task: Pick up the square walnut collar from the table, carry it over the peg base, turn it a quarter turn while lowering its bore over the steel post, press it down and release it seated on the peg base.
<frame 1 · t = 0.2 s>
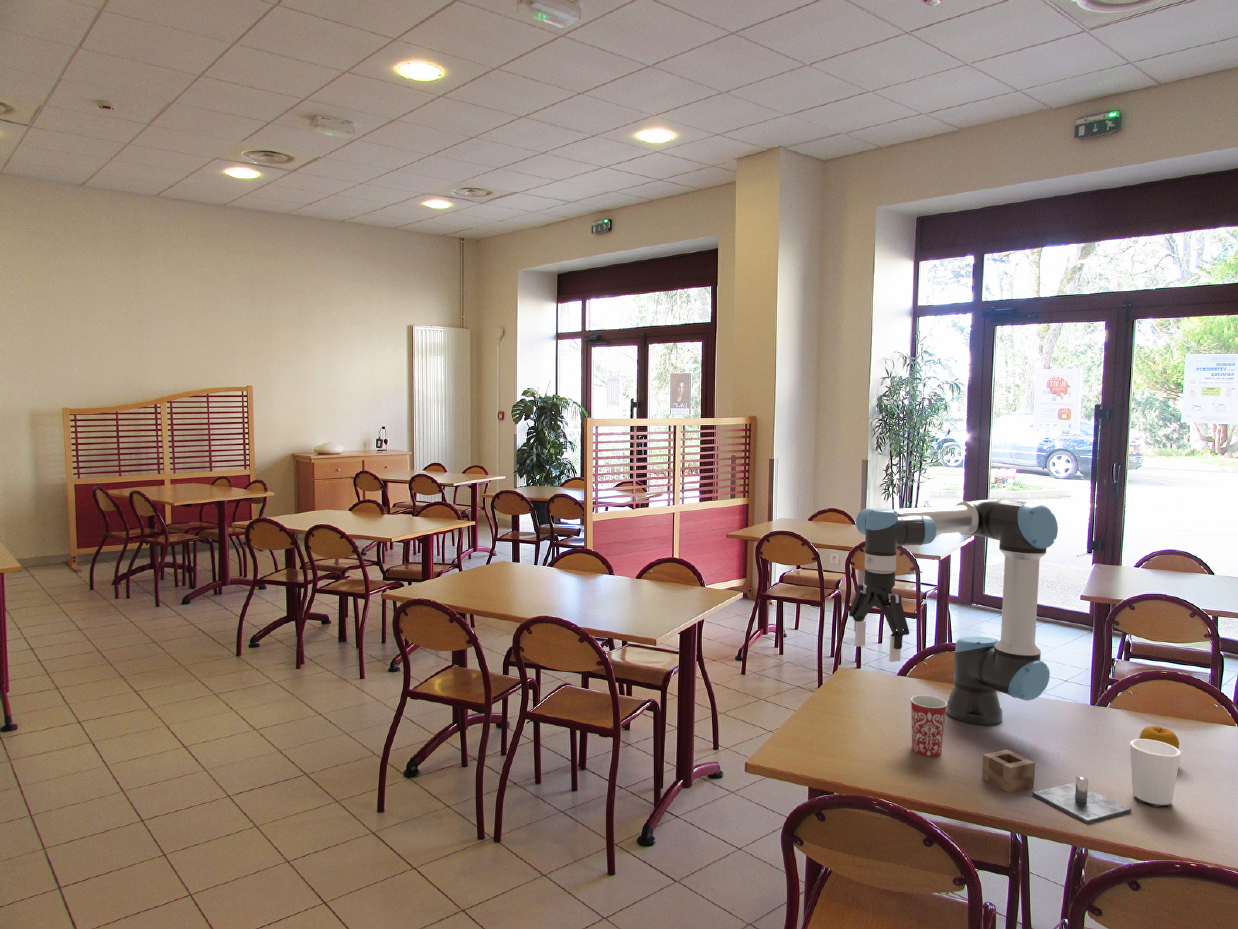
hand: (876, 653, 206), 28 cm above the table, fingers open, 13 cm apart
mug: (925, 749, 216), on the table
peg base: (1080, 803, 186), on the table
collar: (1007, 782, 196), on the table
cup: (1151, 801, 188), on the table
apple: (1157, 761, 210), on the table
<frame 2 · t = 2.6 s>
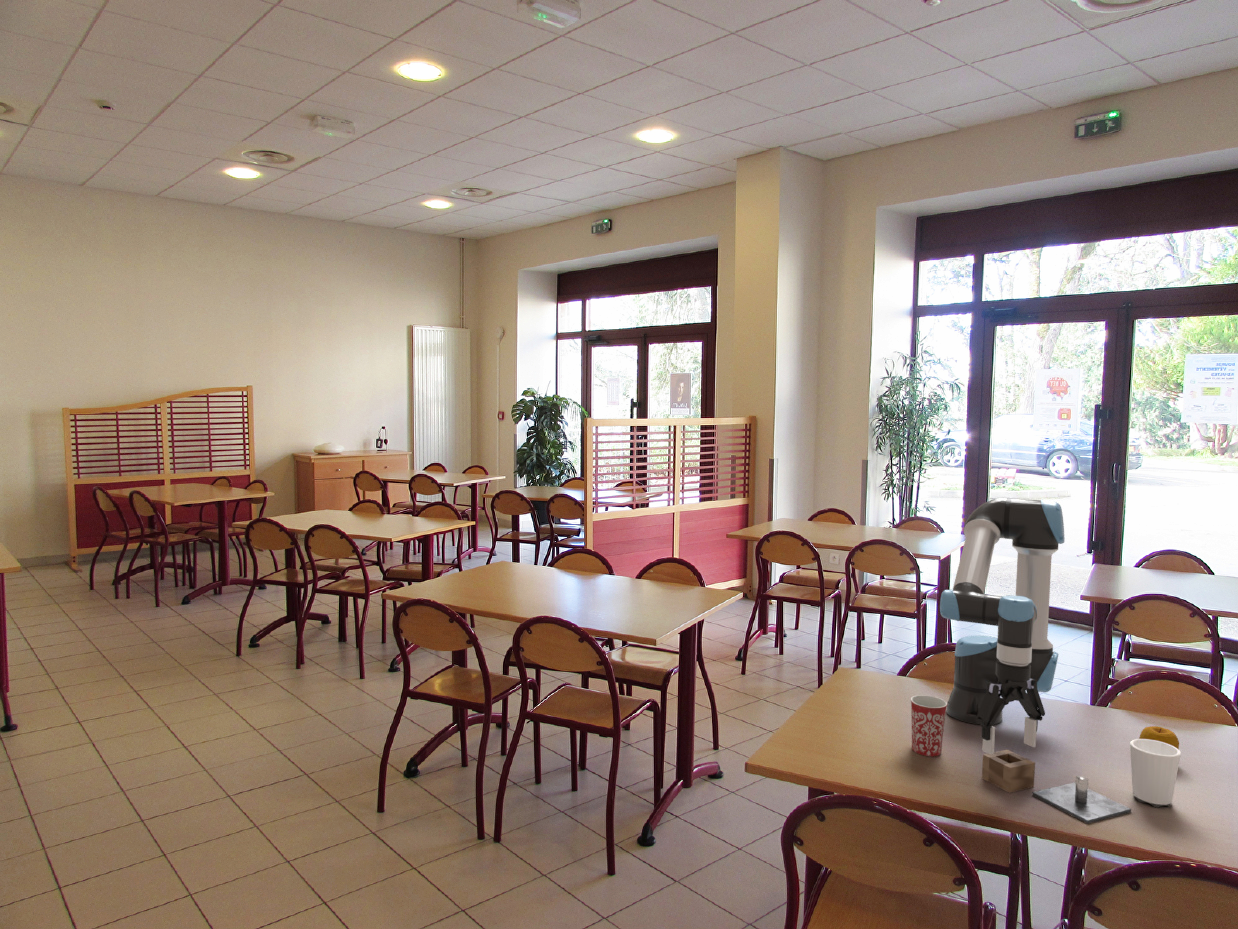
hand: (1009, 749, 195), 8 cm above the table, fingers open, 13 cm apart
nothing on the table moved.
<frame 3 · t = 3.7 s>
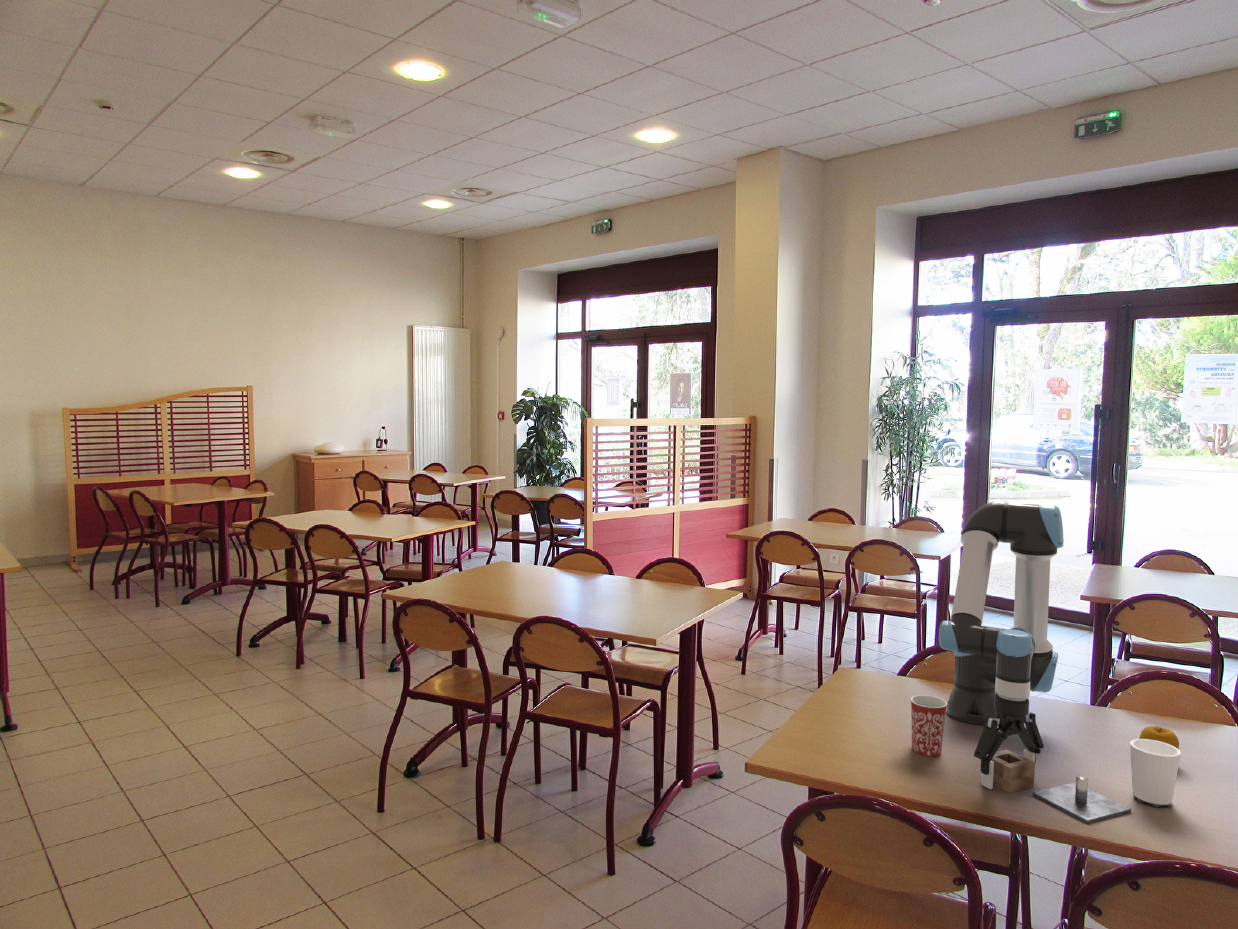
hand: (1007, 782, 196), 0 cm above the table, fingers open, 13 cm apart
nothing on the table moved.
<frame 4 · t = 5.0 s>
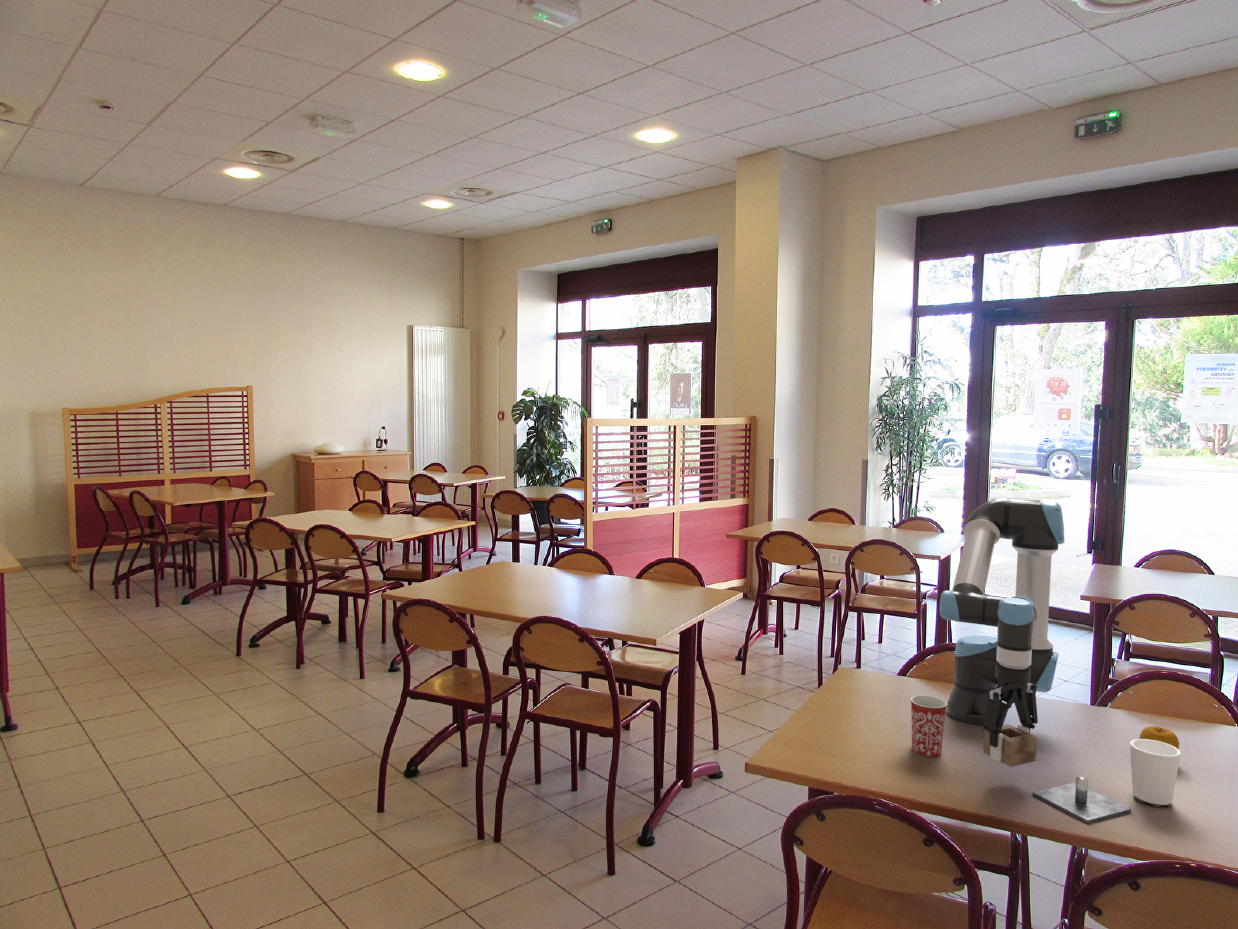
hand: (1009, 755, 196), 6 cm above the table, fingers closed on collar, 8 cm apart
collar: (1009, 757, 196), point 6 cm above the table, touching gripper
everything else where it was.
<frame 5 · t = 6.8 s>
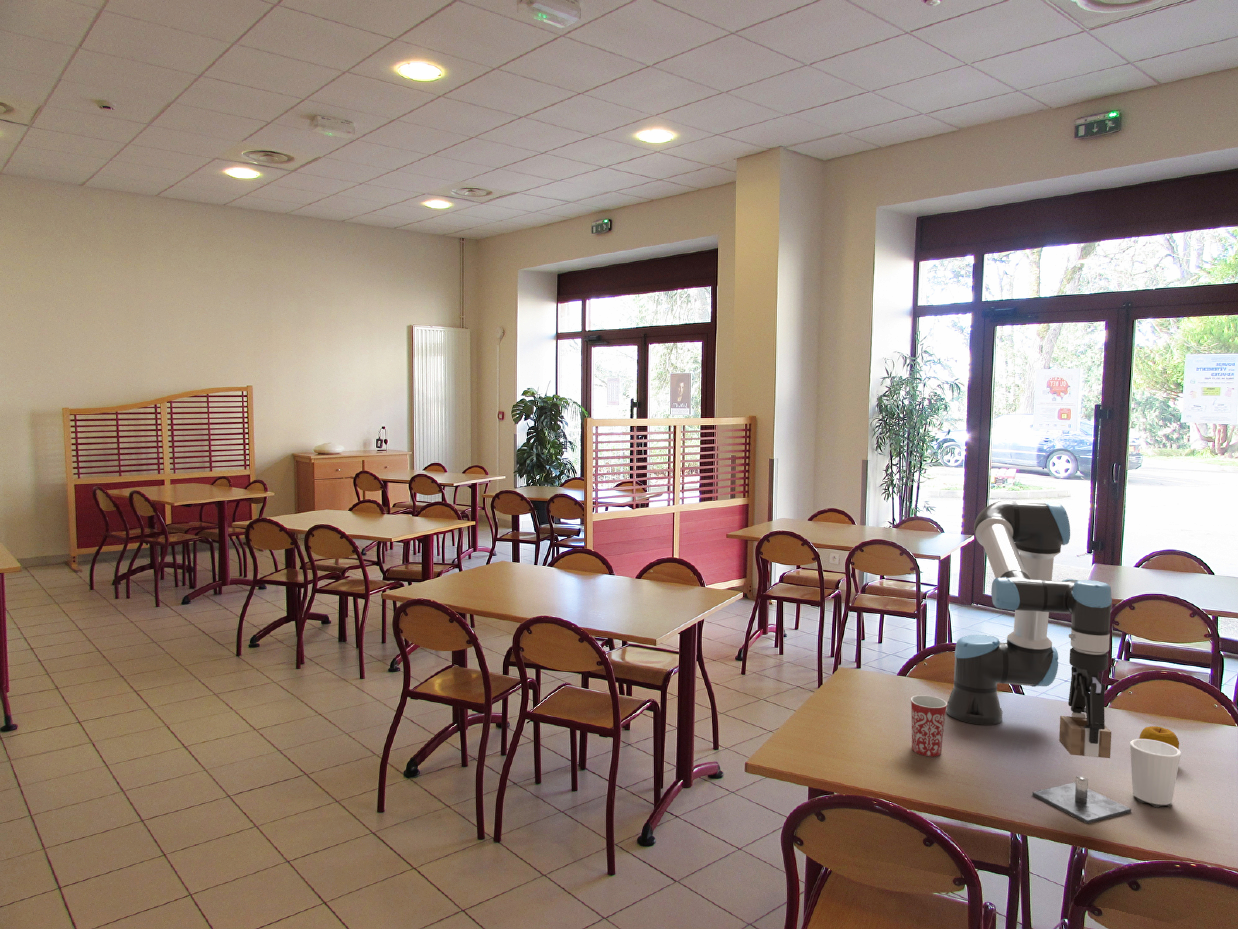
hand: (1084, 748, 185), 13 cm above the table, fingers closed on collar, 8 cm apart
collar: (1083, 749, 185), point 13 cm above the table, touching gripper
everything else where it was.
when the fingers open (2 cm above the table, at t = 8.7 s): collar stays where it is, resting on peg base.
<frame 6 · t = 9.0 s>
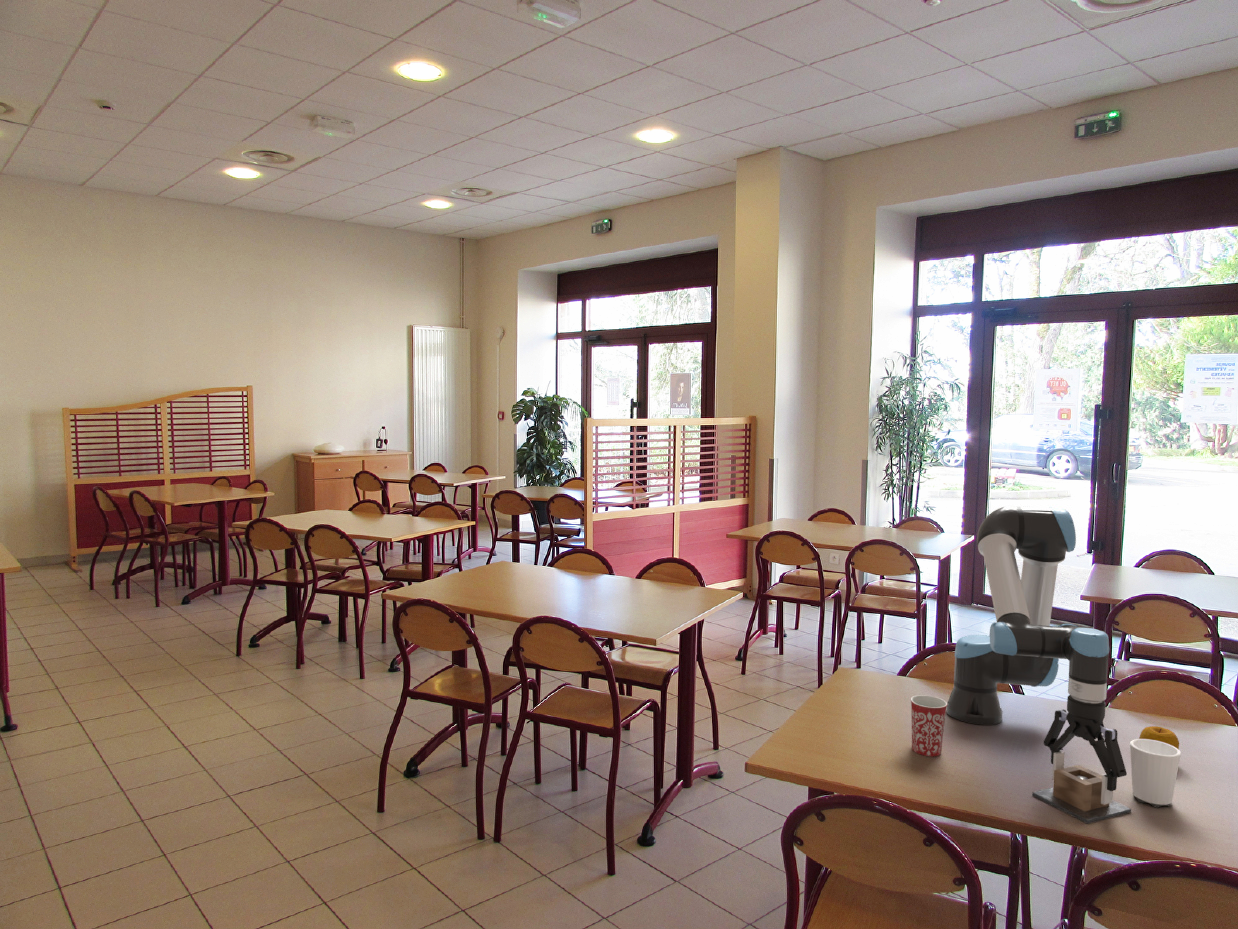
hand: (1081, 791, 186), 3 cm above the table, fingers open, 11 cm apart
collar: (1080, 800, 186), point 1 cm above the table, touching peg base
everything else where it was.
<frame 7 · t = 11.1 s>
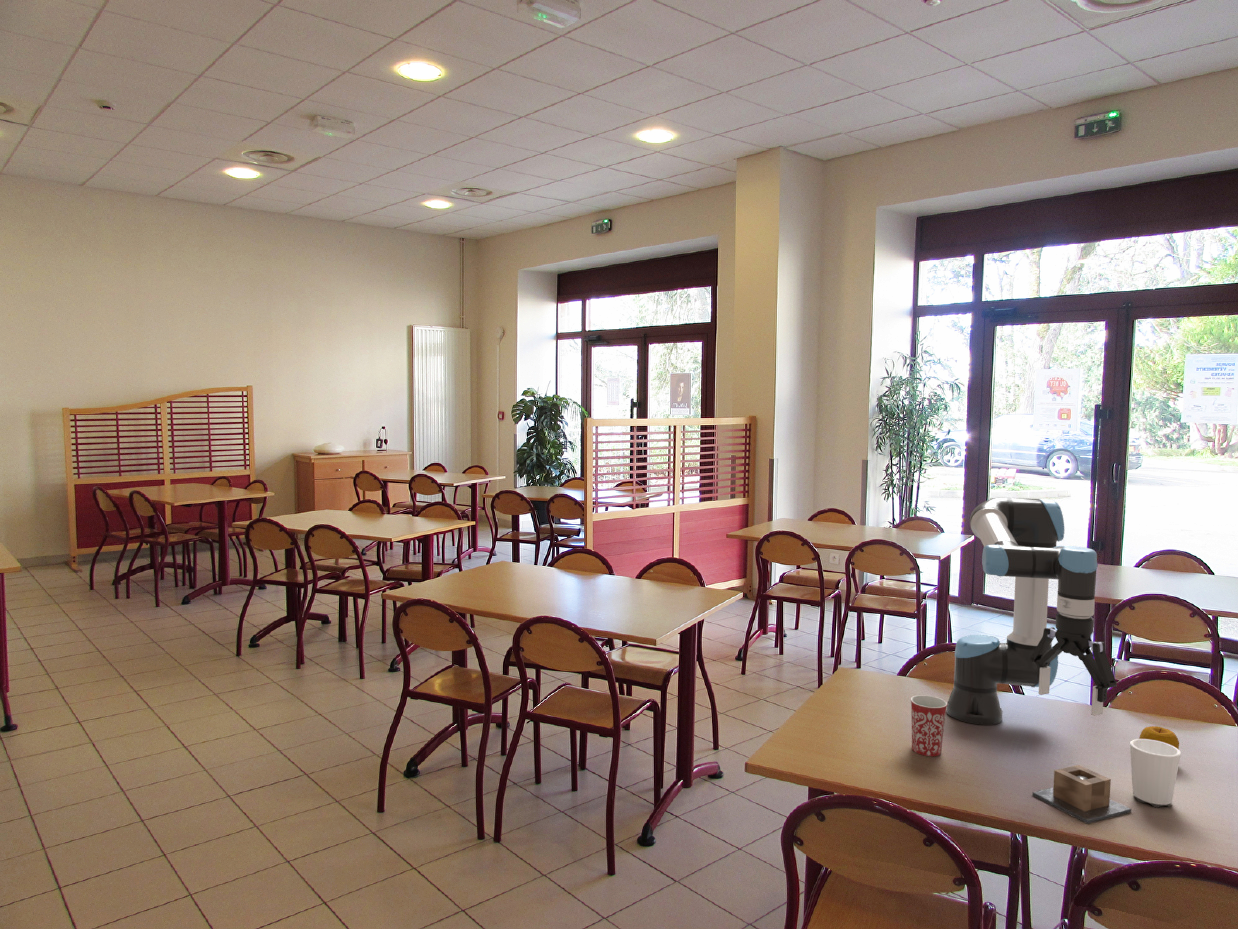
hand: (1069, 704, 189), 22 cm above the table, fingers open, 13 cm apart
nothing on the table moved.
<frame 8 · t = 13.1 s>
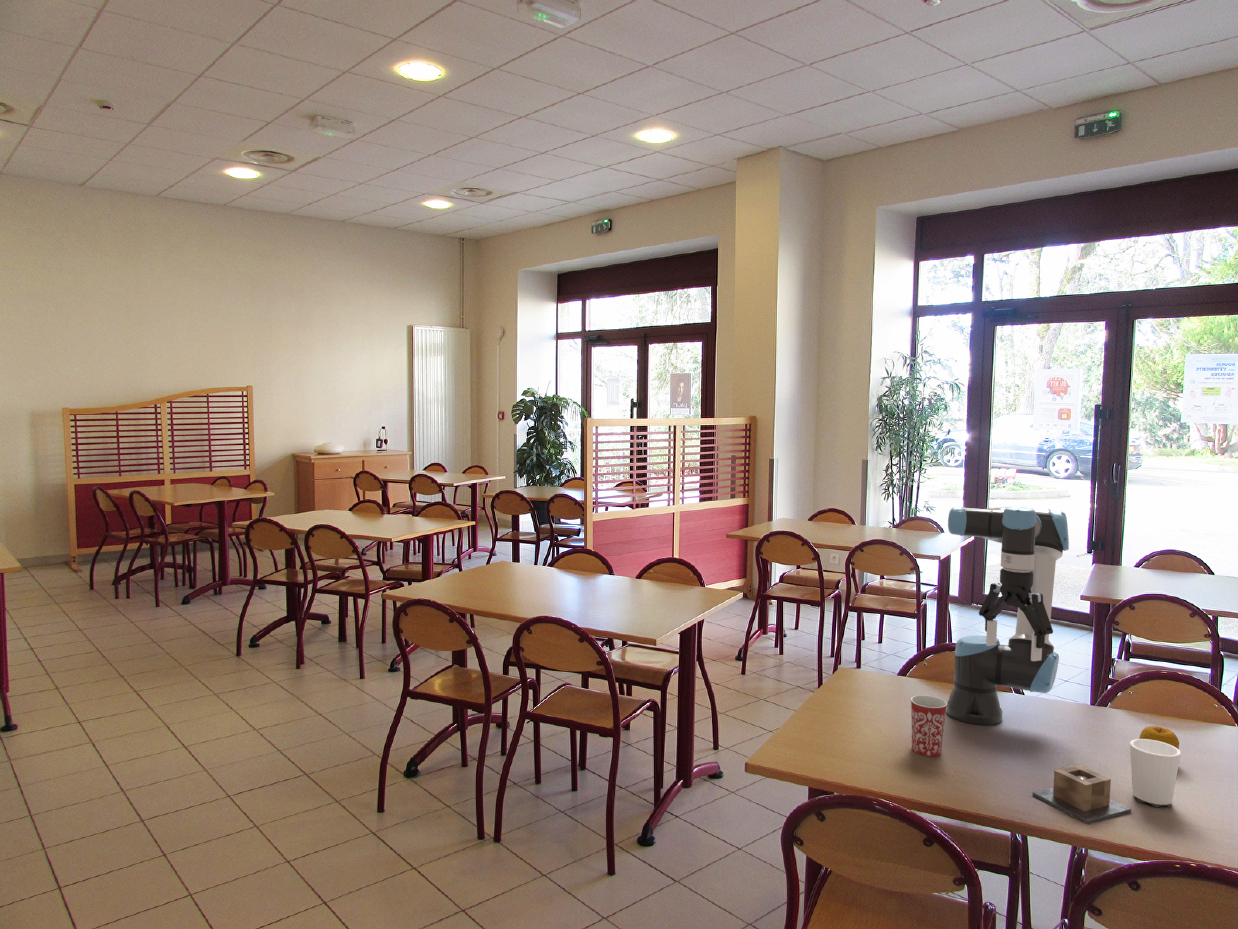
hand: (1012, 652, 205), 29 cm above the table, fingers open, 13 cm apart
nothing on the table moved.
at the end: collar 0.1 cm off-centre on the peg base, point 0.8 cm above the peg base's base; the gripper is holding nothing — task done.
